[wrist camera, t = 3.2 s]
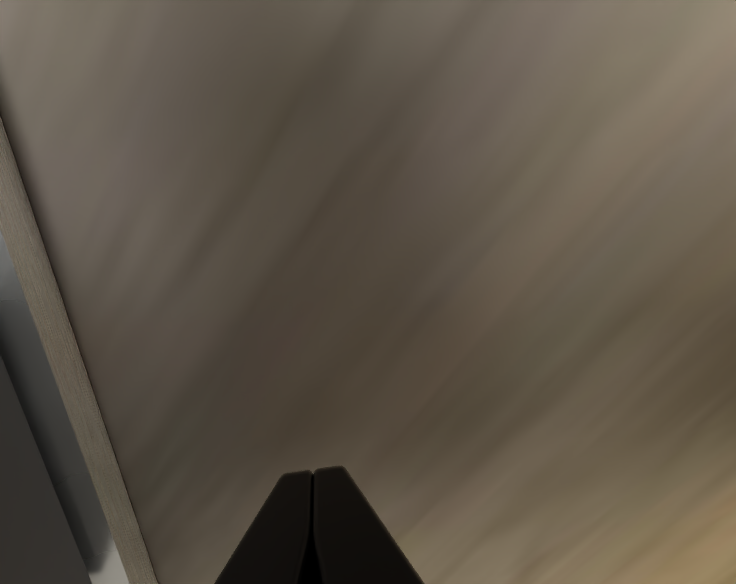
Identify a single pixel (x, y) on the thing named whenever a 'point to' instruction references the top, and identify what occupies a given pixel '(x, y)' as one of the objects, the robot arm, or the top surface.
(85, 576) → the block with white pegs
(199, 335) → the top surface
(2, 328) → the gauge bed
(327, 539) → the robot arm
